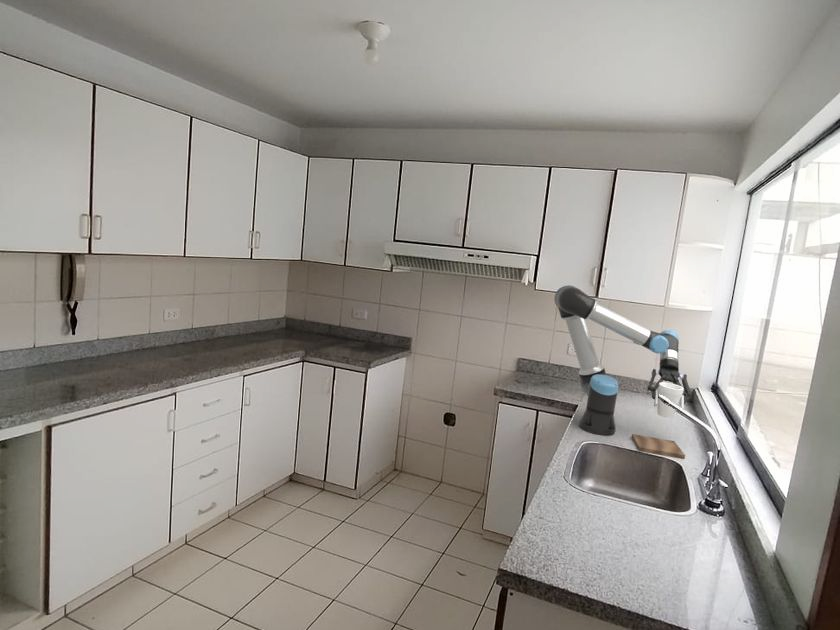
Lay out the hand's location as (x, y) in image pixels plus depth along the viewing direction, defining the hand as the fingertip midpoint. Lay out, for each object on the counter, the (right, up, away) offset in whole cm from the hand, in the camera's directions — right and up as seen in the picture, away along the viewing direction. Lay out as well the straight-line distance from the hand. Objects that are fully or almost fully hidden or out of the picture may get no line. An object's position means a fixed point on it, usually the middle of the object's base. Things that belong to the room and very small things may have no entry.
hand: (668, 407), depth 214 cm
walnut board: (-6, -16, -2) cm, 17 cm away
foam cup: (0, -4, +4) cm, 6 cm away
